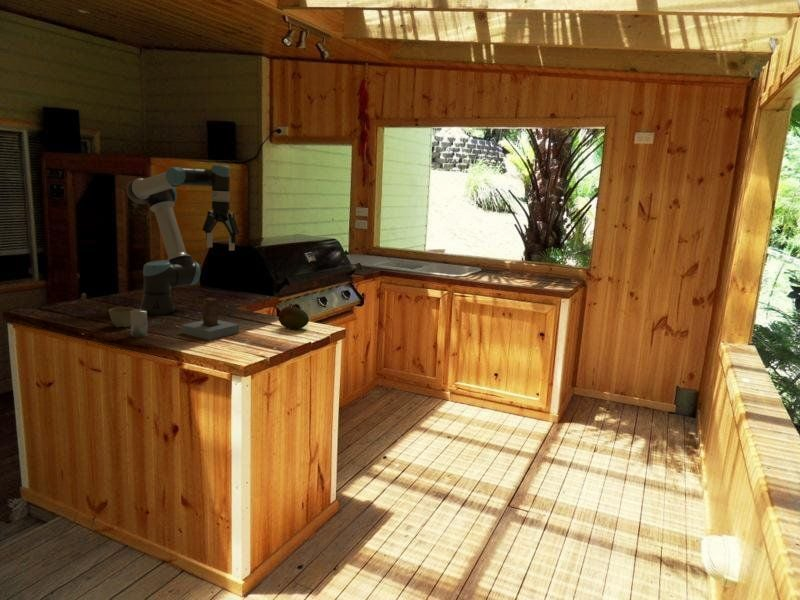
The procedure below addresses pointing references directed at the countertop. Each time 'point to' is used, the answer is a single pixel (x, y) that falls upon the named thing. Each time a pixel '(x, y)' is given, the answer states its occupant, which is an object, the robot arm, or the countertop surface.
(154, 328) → the countertop surface
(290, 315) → the fruit
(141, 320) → the round bit
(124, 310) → the flower pot
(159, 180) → the robot arm
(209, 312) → the wooden square peg
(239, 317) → the countertop surface
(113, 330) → the countertop surface
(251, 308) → the countertop surface
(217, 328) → the socket plate
